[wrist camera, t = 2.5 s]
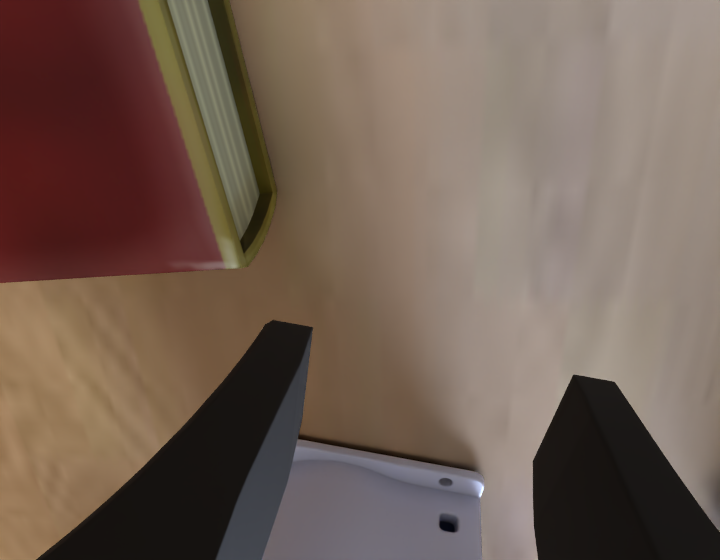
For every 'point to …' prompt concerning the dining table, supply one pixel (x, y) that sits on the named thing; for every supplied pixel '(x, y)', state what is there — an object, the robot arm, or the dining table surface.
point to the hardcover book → (127, 140)
